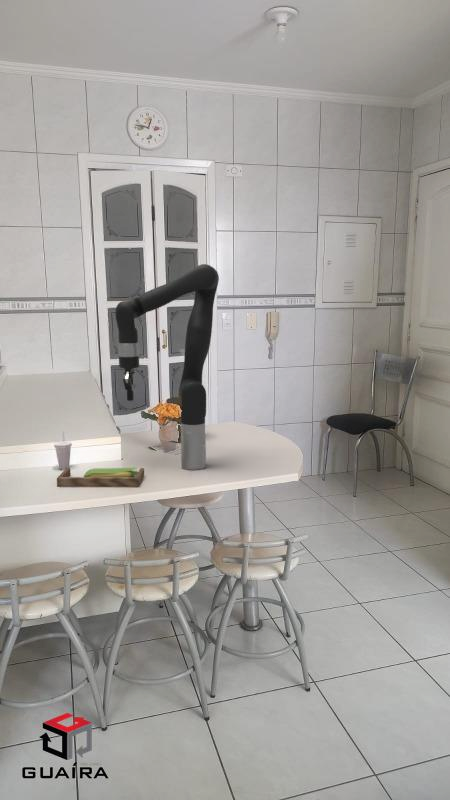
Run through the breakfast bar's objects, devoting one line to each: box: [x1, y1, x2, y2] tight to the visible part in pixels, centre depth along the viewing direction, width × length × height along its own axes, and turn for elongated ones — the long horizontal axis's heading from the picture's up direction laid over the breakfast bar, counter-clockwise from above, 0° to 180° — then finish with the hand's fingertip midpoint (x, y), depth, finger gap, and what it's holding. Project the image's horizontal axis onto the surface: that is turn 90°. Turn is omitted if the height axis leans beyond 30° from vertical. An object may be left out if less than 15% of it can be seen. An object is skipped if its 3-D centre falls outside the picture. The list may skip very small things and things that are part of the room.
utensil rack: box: [56, 467, 145, 488], centre depth 196 cm, size 28×12×3 cm, turn 89°
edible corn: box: [83, 466, 139, 477], centre depth 197 cm, size 5×20×5 cm
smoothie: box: [53, 431, 73, 470], centre depth 211 cm, size 6×6×14 cm
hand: (130, 400), depth 213 cm, fingers closed
